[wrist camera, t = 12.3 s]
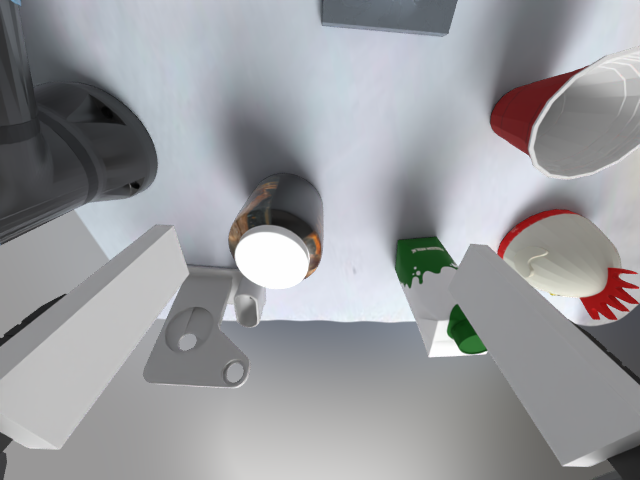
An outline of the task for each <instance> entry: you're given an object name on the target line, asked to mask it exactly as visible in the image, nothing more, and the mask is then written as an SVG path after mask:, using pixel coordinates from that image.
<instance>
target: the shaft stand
mask: <svg viewBox="0 0 640 480" xmlns="http://www.w3.org/2000/svg"><path fill="white" fill-rule="evenodd" d="M457 1H458V0H323V14H322V26H330V27H341V28H353V29H364V30H375V31H386V32H397V33H408V34H419V35H430V36H441V37H442V36H444V35H447V34H448V33H449V29H450V25H451V22H452V18H453V15H454V11H455V8H456V4H457Z"/></svg>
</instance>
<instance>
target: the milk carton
mask: <svg viewBox="0 0 640 480" xmlns="http://www.w3.org/2000/svg"><path fill="white" fill-rule="evenodd" d="M457 269H458V265H457V264H456V263H455V262H454V260H453V259H452V258H451V256H450V255H449V254H448V252H447V251H446V249H445V248H444V247H443V245H442V244H441V242H440V241H439V240H438V238H437V237H428V238H416V239H405V240H398V244H397V255H396V266H395V270H396V273H397V276H398V279H399V281H400V284H401V286H402V289H403V291H404V293H405V296H406V298H407V301H408V303H409V306H410V308H411V311H412V313H413V315H414V318H415V320H416V322H417V325H418V328H419V330H420V333H421V336H422V339H423V342H424V345H425V347H426V351H427V353H428V356H429V357H442V356H460V355H478V354H479V355H480V354H486V353H487V351H488V350H487V349H486V347H485V345H484V344H483V342H482V341H481V339H480V338H479V336H478V335H477V333H476V331H475V330H474V328H473V327H472V325H471V324H470V322H469V321H468V319H467V318H466V316H465V314H464V313H463V311H462V310H461V308H460V307H459V305H458V304H457V302H456V300H455V299H454V297H453V296H452V294H451V293H450V291H449V290H448V287H449V285H450V283H451V281H452V279H453V277H454V275H455V273H456V271H457Z"/></svg>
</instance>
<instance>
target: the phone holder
mask: <svg viewBox="0 0 640 480" xmlns="http://www.w3.org/2000/svg"><path fill="white" fill-rule="evenodd" d="M187 268H188V271H189V275H188V276H187V278H186V279H185V281H184V282H183V283H182V285H181V287H180V290H179V292H178V294H177V296H176V299H175V301H174V303H173V305H172V308H171V310H170V312H169V314H168V316H167V319H166V321H165V323H164V325H163V328H162V330H161V332H160V334H159V337H158V339H157V341H156V344H155V346H154V348H153V350H152V352H151V355H150V357H149V359H148V361H147V364H146V366H145V368H144V372H143V376H144V379H145V380H146V381H147V382H149V383H153V384H162V385H181V386H199V387H218V388H238V387H240V386H241V385H243V384H244V383H245V382H246V380H247V379H248V376H249V371H250V368H251V363H250V360H249V359H248V357H246V355H245V354H244V353H243V352H241V350H240V349H239V348H238V347H237V346H236V345H235V344H234V343H233V342H232V341H231V340H230V339H229V338H228V337H227V336H226V335H225V334H224V333H223V332H222V331H221V329H220V326H221V322H222V319H223V316H224V312H225V309H226V306H227V304H233V305H234V307H235V313H236V319H237V322H238V323H239V324H240V325H242V326H244V327H255V326H257V325H258V323H259V322H260V318H261V314H262V311H263V307H264V305H265V302H266V290H265V287H263V286H260V285H257V284H256V283H254V282H252V281H250V280H249V279H248V278H246V277H245V276H244V275H243V274H242V272H241V271H240V270H239V269H230V268H218V267H205V266H193V265H187ZM187 334H194V335H195V336H196V338H197V342H196V345H195V346H194V347H193V348H191V349H189V350H187V351H183V350H181V349H180V347H179V343H180V341H181V339H182V338H183V337H184V336H185V335H187ZM233 364H241V365H242V366H243V369H244V373H243V376H242V378H241V379H240V380H239V381H237V382H235V383H231V382H229V381H228V379H227V371H228V369H229V368H230V367H231V366H232V365H233Z"/></svg>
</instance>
